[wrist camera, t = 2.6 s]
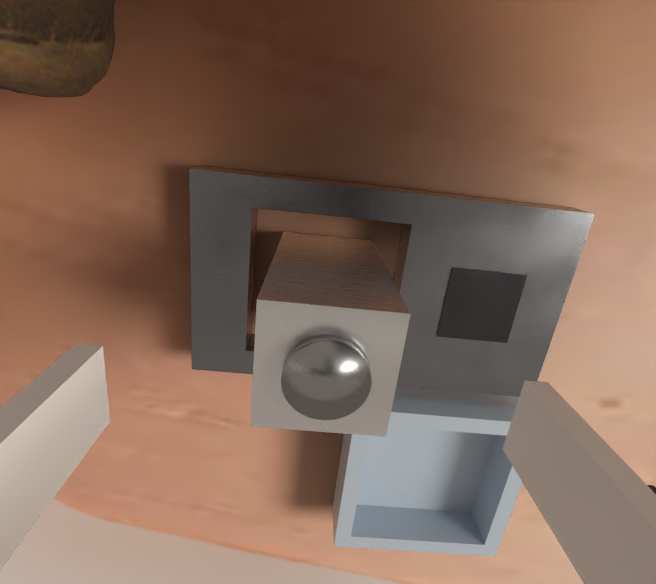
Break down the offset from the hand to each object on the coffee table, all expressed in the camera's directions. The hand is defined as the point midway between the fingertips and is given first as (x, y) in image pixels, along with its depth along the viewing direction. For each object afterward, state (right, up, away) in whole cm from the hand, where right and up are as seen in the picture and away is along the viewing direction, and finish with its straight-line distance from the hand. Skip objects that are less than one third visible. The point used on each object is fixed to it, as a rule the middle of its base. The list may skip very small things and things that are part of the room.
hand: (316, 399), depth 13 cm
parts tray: (+7, -8, +15) cm, 18 cm away
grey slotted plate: (+3, +4, +11) cm, 12 cm away
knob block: (0, +4, +11) cm, 11 cm away
